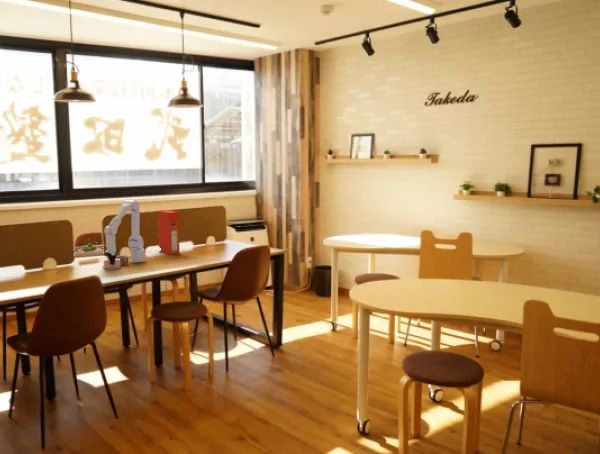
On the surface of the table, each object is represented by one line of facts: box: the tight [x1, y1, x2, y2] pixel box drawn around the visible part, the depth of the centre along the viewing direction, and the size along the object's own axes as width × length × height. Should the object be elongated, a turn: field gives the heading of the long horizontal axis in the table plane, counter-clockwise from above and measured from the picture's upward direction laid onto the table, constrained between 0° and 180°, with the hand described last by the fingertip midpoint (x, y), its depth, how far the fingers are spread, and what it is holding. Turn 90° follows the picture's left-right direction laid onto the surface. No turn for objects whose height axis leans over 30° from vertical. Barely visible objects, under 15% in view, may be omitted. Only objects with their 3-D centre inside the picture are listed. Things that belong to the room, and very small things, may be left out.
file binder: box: [157, 209, 180, 256], centre depth 412 cm, size 8×17×32 cm, turn 44°
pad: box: [102, 265, 122, 271], centre depth 360 cm, size 10×10×1 cm
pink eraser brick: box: [103, 259, 122, 269], centre depth 359 cm, size 10×3×5 cm, turn 118°
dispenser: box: [116, 254, 129, 266], centre depth 370 cm, size 7×6×6 cm
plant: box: [76, 238, 103, 253], centre depth 410 cm, size 20×20×11 cm
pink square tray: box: [73, 244, 104, 258], centre depth 410 cm, size 25×25×3 cm
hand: (111, 263), depth 359 cm, fingers open, 6 cm apart
